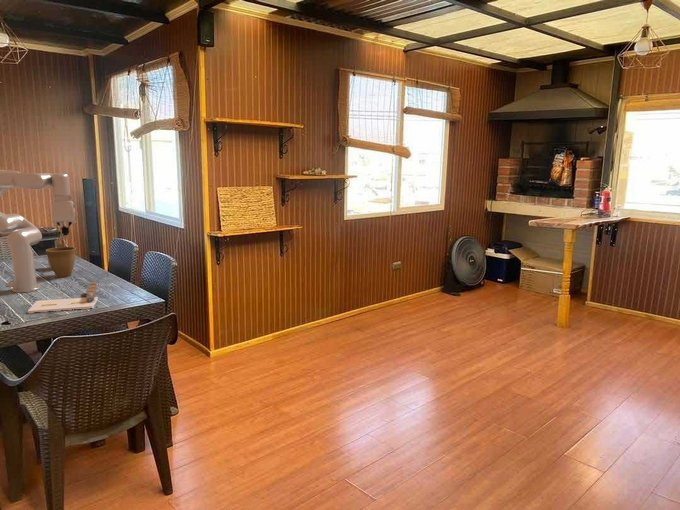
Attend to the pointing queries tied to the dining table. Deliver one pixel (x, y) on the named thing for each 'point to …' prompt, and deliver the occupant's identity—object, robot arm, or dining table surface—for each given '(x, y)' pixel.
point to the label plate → (62, 304)
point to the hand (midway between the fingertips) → (65, 235)
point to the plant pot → (62, 260)
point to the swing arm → (91, 291)
